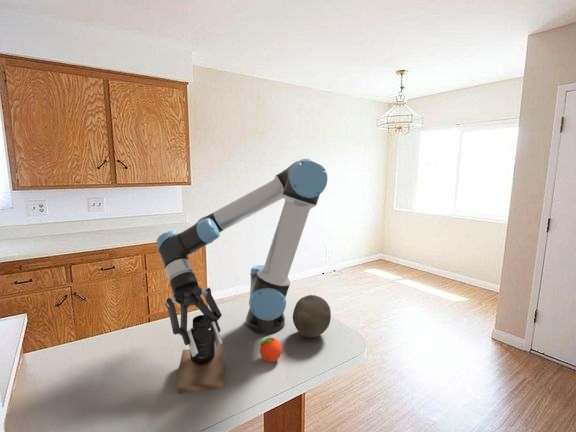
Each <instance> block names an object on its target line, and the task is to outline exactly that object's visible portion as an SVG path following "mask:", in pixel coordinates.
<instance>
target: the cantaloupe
mask: <svg viewBox="0 0 576 432" xmlns="http://www.w3.org/2000/svg"><path fill="white" fill-rule="evenodd" d="M331 319H332V313H331V308H330V305H329V303H328V302H327V301H326V299H324V298H323V297H321V296H318V295H314V294H309V295H305V296H302V297H301V298H300V299H299V300H297V302H296V304H295V306H294V309H293V312H292V322H293V325H294V327H295V329H296V330H297V332H298V333H299V334H300V335H302V336H304V337H305V338H316V337H318V336H320V335H322V334H324V332H325V331H327V329H328V328H329V326H330V323H331Z"/></svg>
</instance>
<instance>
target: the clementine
mask: <svg viewBox="0 0 576 432" xmlns="http://www.w3.org/2000/svg"><path fill="white" fill-rule="evenodd" d="M258 348H259V354H260V357H261V358H262V359H264V361H266V362H270V363H271V362H275V361H277V360H278V359H279V358H280V357H281V354H282V344H281V343H280V341H279V340H278V339H277V338H275V337H267V338H265V339H264V340H261V342H260V343H259V344H258V346H257V348H256V349H258Z"/></svg>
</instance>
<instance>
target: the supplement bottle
mask: <svg viewBox="0 0 576 432" xmlns="http://www.w3.org/2000/svg"><path fill="white" fill-rule="evenodd" d="M190 330H191V333H192V336H193V339H194V342H195V345H196V348H197V351H198V353H197V355H196V356H194V357H192V354H191V351H190V358H191V361H192V362H193V363H195V364H205V363H208V362H210V361H211V360H212V359H213V358H214V356H215V347H216V343H215V338H214V327H213V326H212V325H211V321H210V317H209V316H207V315H204V314H200V315H197V316H194V317H193V319H192V327H191V328H190Z"/></svg>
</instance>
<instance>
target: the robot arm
mask: <svg viewBox="0 0 576 432" xmlns="http://www.w3.org/2000/svg"><path fill="white" fill-rule="evenodd" d="M327 184H328V173H327V171H326V168H325V167H324V165H323V164H322V163H320V162H319V161H317V160H314V159H311V158H302V159H300V160H297V161H295V162H293V163H292V164H290V166H288V167H287V168H285V169H284V170H282V171H281V172H279V173H277V174H276V175H275V176H274V179H272V180H271V181H269V182H266V183H265V184H263V185H261V186H259V187H257V188H256V189H254V190H252V191H250V192H248V193H246V194H244V195H242V196H241V197H239V198H237V199H236V200H233V201H232V202H230V203H228V204H226V205H224V206H222V207H221V208H219V209H217V210H215V211H213V212H212V213H210V214H208V215H206V216H203V217H201V218H199V219H198V220H197V222H195V223H194V224H193V225H191V226H190V227H188V228H187V229H184V230H183V231H182V232H180V233H179V232H178V231H175V230H170V231H167V232H163V233H161V234H160V235H159V236H158V237H157V239H156V245H157V249H158V253H159V255H160V258H161V261H162V263H163V266H164V270H165V273H166V277H167V278H168V282H169V286H170V288H171V291H172V293H173V295H172V297H168V298H166V300H165V303H164V305H165V307H166V308H167V309H168V316H169V319H170V325H171V329H172V333H173V335H180V336H181V337H182V341H183V342H184V343H183V344H184V345H185V346H188V347H189V349H190V351H191V354H192V357H194V356H196V355H197V353H198V351H197V348H196V345H195V342H194V339H193V336H192V333H191V329H188V309H189V308H188V307H190V306H195V307H196V308H198V310H199V311H200V312H201V313H202V315H207V316H209V317H210V321H211V325H212V326H213V327H214V338H215V347H218V346H222V344H223V340H222V337H221V335H220V333H221V327H220V325H219V323H218V320H220V319H221V317H222V316H223V315H222V313H221V310H220V308H219V307H218V305H217V303H216V300H215V298H214V297H213V295H212V289H211V288H210V287H207V288H206V289H204V288H203V289H202V288H201V286H200V285H199V282H198V280H197V277H196V274H195V273H194V269H193V266H192V265H191V261H190V258H189V256H190V255H191V254H193V253H195V252H196V251H199V250H200V249H202V248H203V247H205V246H208V245H209V244H212V243H213V242H214V241H216V240H218V239H219V237H220V236H221V235H220V234H221V232H223V231H225V230H226V229H228V228H230V227H232V226H234V225H236V224H238V223H239V222H241V221H243V220H245V219H247V218H249V217H251V216H252V215H254V214H256V213H259V212H261V211H262V210H264V209H266V208H267V207H270V206H271V205H273V204H275V203H276V202H279V201H281V200H282V199H283V200H284V202H283V207H282V209H281V210H282V211H281V213H280V216H279V219H278V222H277V225H276V228H275V230H274V234H273V237H272V240H271V244H270V247H269V251H268V253H267V255H266V259H265V262H264V264H262V265H261V264H260V265H254V266H252V267H251V269H250V273H249V275H250V290H249V301H248V302H249V303H248V305H249V309H248V312H247V314H246V317H245V326H246V328H247V329H248V330H250V331H251V332H254V333H258V334H271V333H276V332H279V331H280V330H282V329H283V328H284V326H285V325H286V318H285V315H284V312H285V310H286V306H287V299H286V297H287V295H288V291H289V288H290V285H291V280H290V278H289V273H290V271H291V268H292V265H293V262H294V259H295V256H296V252H297V249H298V246H299V244H300V240H301V237H302V235H303V232H304V228H305V225H306V223H307V221H308V220H307V219H308V216H309V213H310V210H311V209H313V208H315V207H316V206H317V204H318V201H319V199H320V196H321V194H322V193H323V192H324V191H325V190H326V187H327ZM201 296H203V298H204V299H205V301H206V303H205V301H204V299H203V298H202V297H201ZM176 303H178V304H179V305H180V322H179V318H178V313H177V309H176V305H175V304H176Z"/></svg>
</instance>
